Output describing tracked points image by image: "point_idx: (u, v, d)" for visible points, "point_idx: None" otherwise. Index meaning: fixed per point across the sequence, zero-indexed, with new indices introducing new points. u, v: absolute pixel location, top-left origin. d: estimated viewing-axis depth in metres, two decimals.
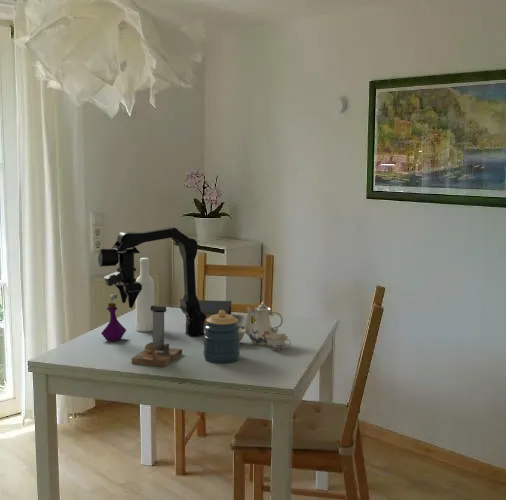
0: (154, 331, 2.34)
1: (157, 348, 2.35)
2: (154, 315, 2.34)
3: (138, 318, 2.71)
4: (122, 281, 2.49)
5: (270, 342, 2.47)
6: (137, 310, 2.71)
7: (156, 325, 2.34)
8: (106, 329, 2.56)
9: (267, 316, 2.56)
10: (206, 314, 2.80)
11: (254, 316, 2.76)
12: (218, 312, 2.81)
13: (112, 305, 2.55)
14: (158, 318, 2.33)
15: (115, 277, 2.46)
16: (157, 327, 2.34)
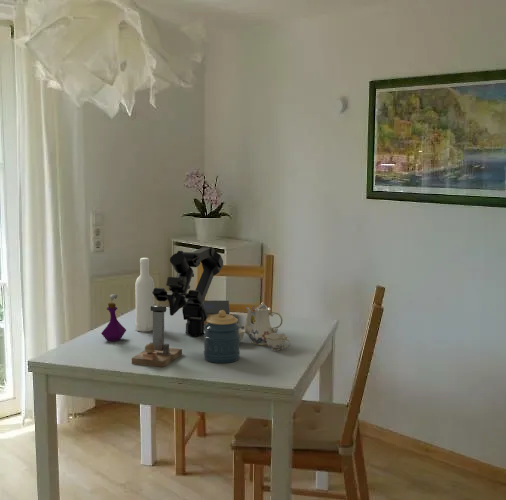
0: (154, 331, 2.34)
1: (157, 348, 2.35)
2: (154, 315, 2.34)
3: (138, 318, 2.71)
4: (183, 289, 2.47)
5: (269, 342, 2.46)
6: (137, 310, 2.71)
7: (156, 325, 2.34)
8: (106, 329, 2.56)
9: (267, 316, 2.55)
10: (209, 314, 2.80)
11: (254, 316, 2.76)
12: None
13: (112, 305, 2.54)
14: (158, 318, 2.33)
15: (185, 280, 2.46)
16: (157, 327, 2.34)
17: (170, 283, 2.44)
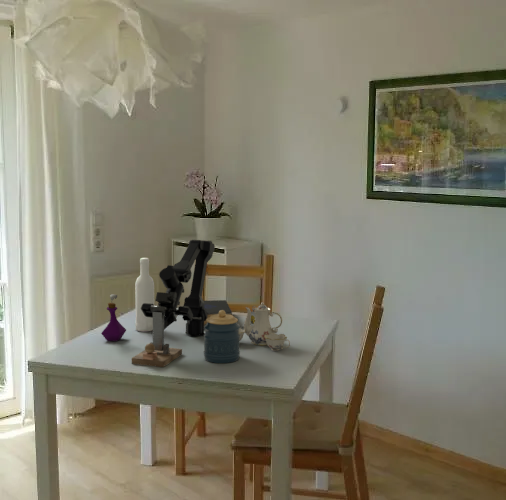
0: (154, 331, 2.34)
1: (157, 348, 2.35)
2: (154, 315, 2.33)
3: (138, 318, 2.71)
4: (173, 305, 2.39)
5: (269, 342, 2.46)
6: (137, 310, 2.71)
7: (156, 325, 2.34)
8: (106, 329, 2.56)
9: (267, 316, 2.55)
10: (212, 314, 2.80)
11: (254, 316, 2.76)
12: None
13: (112, 305, 2.55)
14: (158, 318, 2.33)
15: (175, 296, 2.37)
16: (157, 327, 2.34)
17: (159, 299, 2.35)
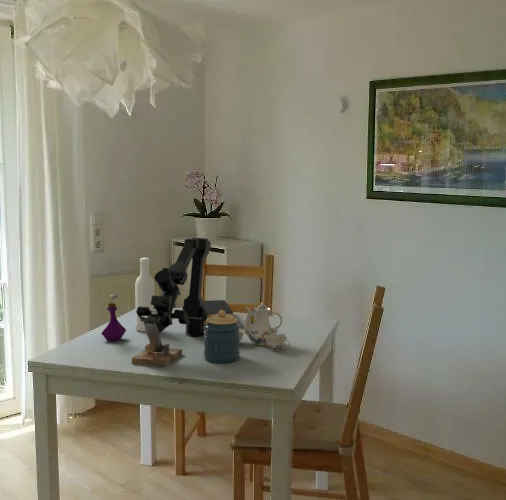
0: (150, 337, 2.31)
1: (156, 350, 2.34)
2: (146, 325, 2.28)
3: (138, 318, 2.71)
4: (168, 308, 2.35)
5: (269, 342, 2.46)
6: None
7: (150, 333, 2.30)
8: (106, 329, 2.56)
9: (266, 316, 2.55)
10: (213, 314, 2.80)
11: (254, 316, 2.76)
12: None
13: (112, 305, 2.55)
14: (151, 328, 2.28)
15: (171, 299, 2.34)
16: (152, 335, 2.30)
17: (155, 302, 2.32)
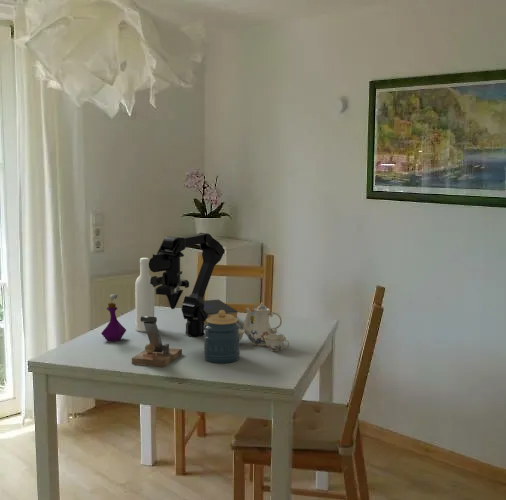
0: (150, 337, 2.31)
1: (156, 350, 2.34)
2: (146, 325, 2.28)
3: (138, 318, 2.71)
4: (163, 284, 2.53)
5: (268, 342, 2.46)
6: (137, 310, 2.71)
7: (150, 333, 2.30)
8: (106, 329, 2.56)
9: (266, 317, 2.55)
10: None
11: (254, 316, 2.76)
12: (228, 311, 2.84)
13: (112, 305, 2.55)
14: (151, 328, 2.28)
15: (154, 279, 2.52)
16: (152, 335, 2.30)
17: None
